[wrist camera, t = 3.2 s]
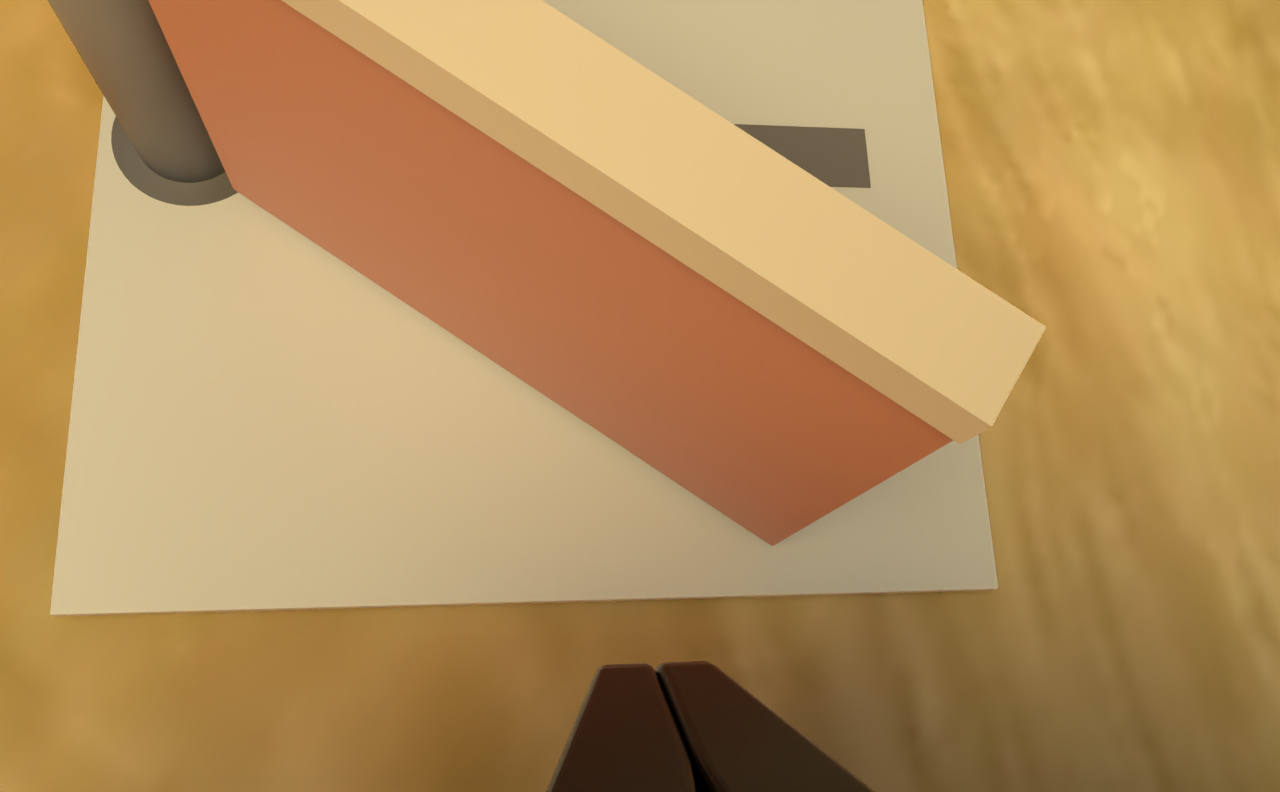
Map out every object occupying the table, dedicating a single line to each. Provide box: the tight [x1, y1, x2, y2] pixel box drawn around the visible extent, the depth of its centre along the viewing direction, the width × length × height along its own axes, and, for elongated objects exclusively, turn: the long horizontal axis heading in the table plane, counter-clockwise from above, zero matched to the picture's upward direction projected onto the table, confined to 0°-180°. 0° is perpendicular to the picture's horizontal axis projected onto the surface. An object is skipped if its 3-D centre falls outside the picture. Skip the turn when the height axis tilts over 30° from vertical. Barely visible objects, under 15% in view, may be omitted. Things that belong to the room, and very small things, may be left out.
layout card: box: [50, 0, 998, 617], centre depth 20 cm, size 16×15×1 cm
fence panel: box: [149, 0, 1046, 546], centre depth 15 cm, size 11×1×8 cm, turn 57°
